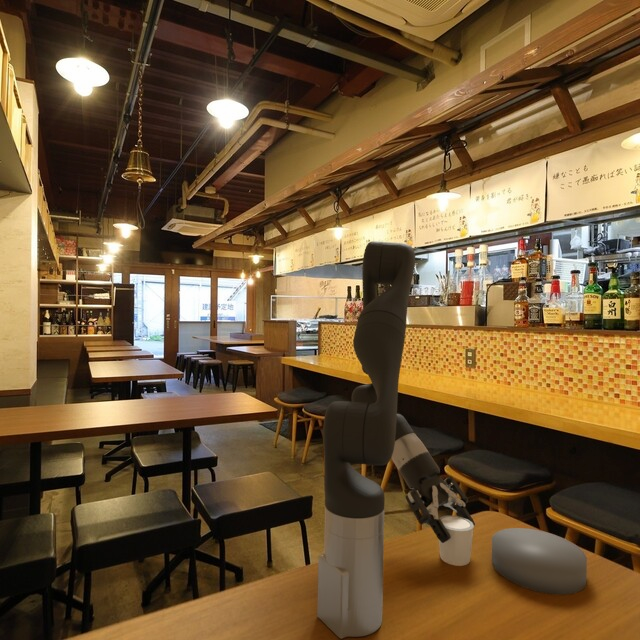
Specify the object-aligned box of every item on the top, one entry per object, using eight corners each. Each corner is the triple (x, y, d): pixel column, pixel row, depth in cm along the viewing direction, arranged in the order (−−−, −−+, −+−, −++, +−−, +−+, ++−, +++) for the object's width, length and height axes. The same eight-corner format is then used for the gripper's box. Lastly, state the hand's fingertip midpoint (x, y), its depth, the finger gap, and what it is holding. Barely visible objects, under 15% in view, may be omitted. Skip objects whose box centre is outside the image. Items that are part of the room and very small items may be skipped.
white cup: (445, 545, 93) (446, 511, 93) (478, 557, 89) (479, 521, 89) (430, 558, 88) (431, 522, 88) (465, 571, 83) (465, 533, 83)
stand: (557, 605, 74) (557, 581, 74) (474, 561, 87) (474, 541, 87) (603, 576, 83) (603, 554, 83) (521, 540, 96) (521, 521, 96)
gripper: (401, 457, 89) (450, 536, 81) (443, 445, 99) (491, 515, 90) (381, 476, 93) (425, 554, 85) (423, 463, 103) (467, 532, 94)
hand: (459, 534), depth 87 cm, fingers open, 8 cm apart
